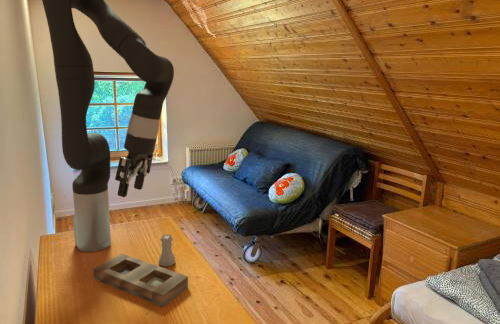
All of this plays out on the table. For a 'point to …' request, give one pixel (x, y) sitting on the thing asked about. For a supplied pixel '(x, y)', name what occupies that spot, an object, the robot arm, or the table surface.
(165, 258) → the rook chess piece
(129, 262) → the slot rail
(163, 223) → the table surface
